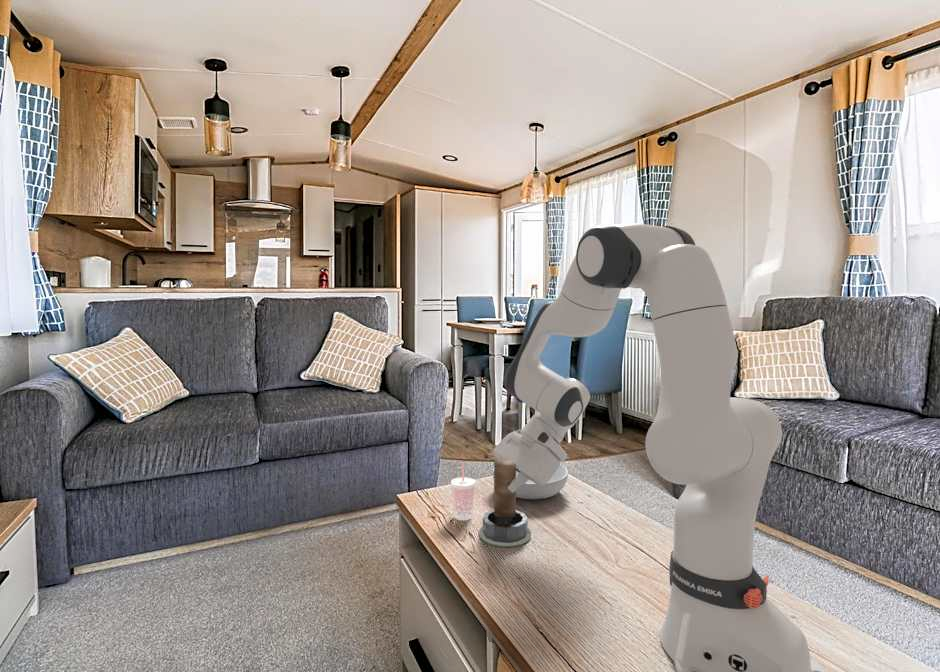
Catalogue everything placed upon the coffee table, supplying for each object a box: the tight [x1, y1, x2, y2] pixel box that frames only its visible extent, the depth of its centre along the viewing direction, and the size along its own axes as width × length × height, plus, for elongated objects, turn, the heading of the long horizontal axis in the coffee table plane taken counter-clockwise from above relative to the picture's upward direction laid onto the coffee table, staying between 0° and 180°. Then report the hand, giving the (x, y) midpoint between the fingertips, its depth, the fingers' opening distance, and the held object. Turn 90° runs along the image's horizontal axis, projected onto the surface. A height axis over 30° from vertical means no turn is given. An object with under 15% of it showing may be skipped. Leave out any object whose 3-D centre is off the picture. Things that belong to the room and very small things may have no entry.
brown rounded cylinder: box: [493, 459, 517, 518], centre depth 118 cm, size 5×5×12 cm
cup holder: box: [478, 508, 532, 548], centre depth 119 cm, size 12×12×4 cm
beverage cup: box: [450, 461, 476, 521], centre depth 128 cm, size 6×6×14 cm
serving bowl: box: [492, 463, 569, 500], centre depth 144 cm, size 21×21×7 cm
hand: (502, 485), depth 118 cm, fingers closed on brown rounded cylinder, 5 cm apart
